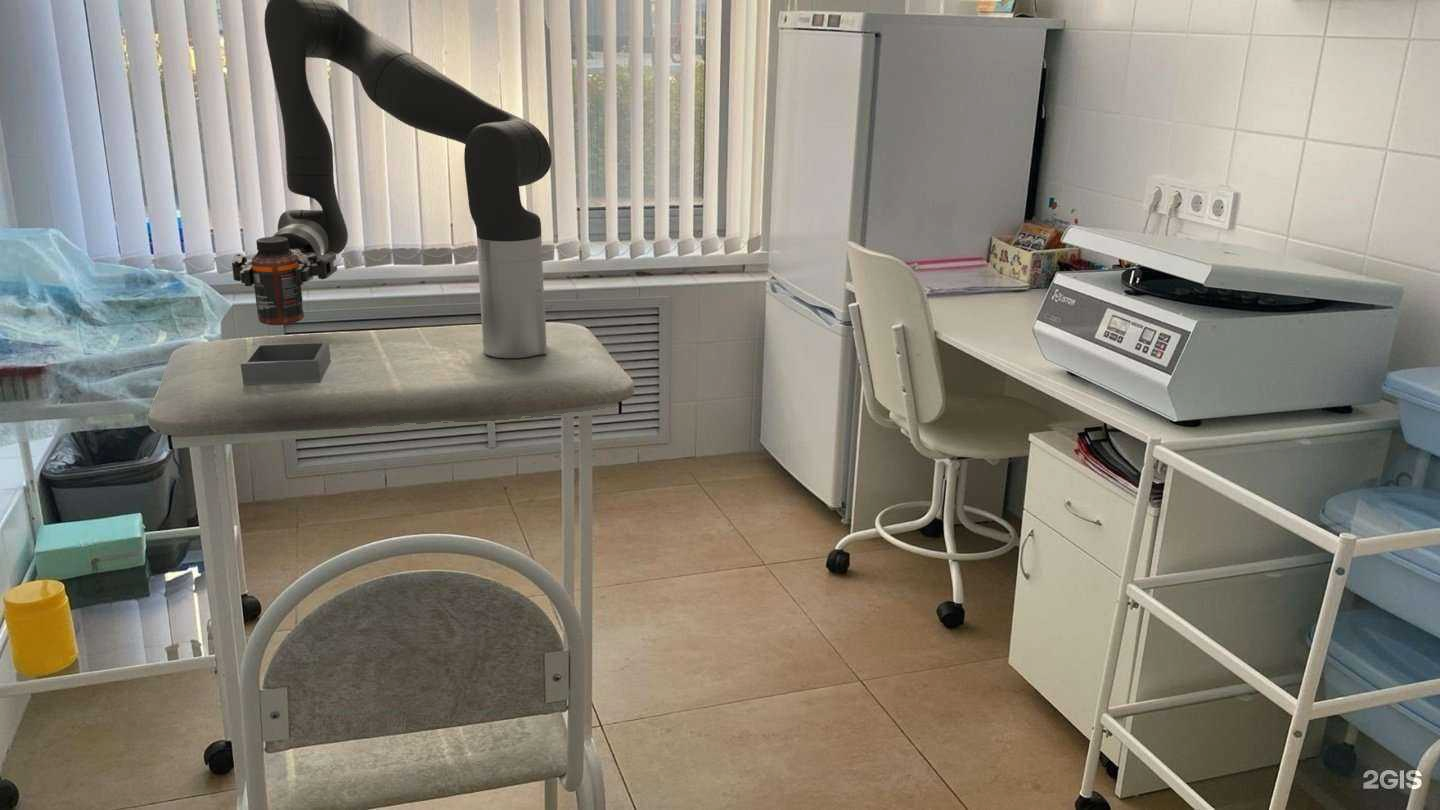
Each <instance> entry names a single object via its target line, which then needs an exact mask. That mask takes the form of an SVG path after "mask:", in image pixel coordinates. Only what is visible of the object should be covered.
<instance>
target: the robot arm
mask: <svg viewBox="0 0 1440 810" xmlns="http://www.w3.org/2000/svg"><path fill="white" fill-rule="evenodd" d="M264 34H265V40H266V45H267V51H268V56H269V59H270V66H271V69H272V70H271V71H272V76H273V80H274V85H275V89H276V93H277V98H278V103H279V107H280V112H281V119H282V126H283V134H284V146H285V148H284V149H285V165H286V166H285V169H286V184H287V188H288V190H289V191H290V192H291V193H293V194H296V195H299V196H303V197H306V198H307V197H308V198H311V199H313V200H315V201H316V202H317V203H318V204H319V205H320V207H321V210H320V209H318V210H317V209H316V210H315V209H314V210H313V209H288V210H286V211H284V212H283V213H281V215H280V216H279V218H278V222H277V231H276V233H274V234H273V236H271V237H286V238H287V239H288V244H289V248H288V249H289V250H290V252H291V253H293V254H294V255H296V257H297V259H298V266H297V268H296V269H295V275H296V284H297V285H301V286H303V285H305V283H306V282H309V281H312V280H314V277H317V278H318V279H320V280H326V279H328V278H329V277H330V276H331V275H333V274H335V273H336V272H338V263H337V255H339V254H340V253H342V252H343V251H344V250H345V248H346V246H347V243H348V239H349V233H348V228H347V224H346V221H345V219H344V215H343V213H342V210H341V207H340V203H339V201H338V197H337V192H336V186H335V179H334V178H335V177H334V176H335V175H334V171H335V170H334V152H333V151H334V150H333V143H332V138H331V133H330V130H329V129H328V126H327V123H326V121H325V119H324V117H323V116H322V114H321V112H320V110H319V108H318V106H317V104H316V102H315V100H314V98H313V95H312V92H311V89H310V87H309V83H308V77H307V66H306V65H307V62H306V61H307V58H308V59H309V58H311V59H313V58H314V59H323V60H328V61H331V62H333V63H336V65H337V64H338V65H339V66H341V67H342V68H344V69H346V70H348V71H350V73H351V72H352V73H353V74H354V75H355V76H356V77H358V78H359V81H360V84H361V87H362V89H363V90H364V92H365V94H366V95H367V97H368V98H369V100H371V102H373V103H374V104H375V105H376V106H377V107H378V108H380V109H381V110H383V111H384V112H386V113H387V114H389V115H390V116H392V117H394V118H395V120H398V121H400V122H402V123H403V124H405V125H407V126H409V127H411V128H414V129H416V130H419V131H421V132H425V133H429V134H432V135H435V136H439V137H442V138H446V139H450V140H453V141H455V142H459V143H461V144H464V145H465V146H464V153H463V155H464V157H463V158H464V159H463V161H464V175H465V181H466V189H467V190H466V191H467V198H468V207H469V213H470V216H471V219H472V221H473V223H474V225H475V229H476V230H475V233H476V247H477V264H478V265H477V266H478V281H479V299H480V315H481V329H482V330H481V332H482V333H481V335H482V337H481V339H482V347H483V354H485V355H487V356H489V357H492V358H498V359H499V358H500V359H522V358H528V357H534V356H538V355H547V353H548V352H547V329H546V303H545V301H546V298H545V288H544V286H545V285H544V272H543V270H544V269H543V268H544V267H543V264H544V263H543V248H542V245H543V243H542V240H543V239H542V221H541V218H540V216H539V215H538V214H536V213H535V212H532V211H529V210H527V209H525V207H524V206H523V204H522V200H521V194H520V187H524V186H528V185H531V184H534V183H536V182H538V181H540V180H541V179H543V178H544V177H545V176H546V175H547V173H549V171H550V168H551V165H552V161H553V160H552V150H551V148H550V145H549V142H548V140H547V138H546V137H545V134H543V132H541V130H540V129H539V128H538V127H537V126H535V125H534V124H532V123H531V122H529V121H527V120H525V119H523V118H521V117H519V116H516V115H514V114H512V113H510V112H509V111H506V110H505V109H504V110H503V109H502V108H499V107H497V106H495V105H493V104H491V103H489V102H488V101H485V100H484V99H482V98H480V97H479V96H478V95H476V94H474V93H472V92H471V91H470V90H468V89H466V88H465V87H464V86H463V85H460V84H459V83H458V82H456V81H454V80H453V79H451V78H449V77H448V76H446V75H445V74H443V73H442V72H440V71H438V70H437V69H436V68H435V67H433V66H431V65H430V64H428V63H426V62H425V61H423V60H422V59H420V58H418V57H417V56H416V55H413V54H412V53H410V52H408V51H406V50H404V49H402V48H401V47H400V46H398V45H397V44H395V43H393V42H391V41H390V40H388V39H386V38H384V37H383V36H382V35H379V34H378V33H376V32H374V31H372V30H371V29H369V27H367V26H366V25H365V24H363V23H362V22H361V21H360V20H358V19H357V18H356V17H355V16H354V15H352V14H351V13H350V12H349V11H347V10H346V9H345V8H344V7H342V6H341V5H340V4H339V3H338V2H336V1H334V0H269V1H268V2H267V5H266V7H265V11H264ZM251 261H252V258H251V259H247V256H245V255H244V254H241V253H236V254H233V258H232V262H231V268H232V269H231V270H232V274H233V275H232V277H233V281H235V282H240V283H241V284H244V286H245V287H252V286H254V281H253V273H252V264H251Z"/></svg>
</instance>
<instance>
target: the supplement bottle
mask: <svg viewBox="0 0 1440 810" xmlns="http://www.w3.org/2000/svg"><path fill="white" fill-rule="evenodd" d="M288 248H289V244H288V239H287V238H286V237H272V236H265V237H261V238H258V239H256V249H257V252H256V254H255V255H254V256H253V257H252V258H251V259H252V261H251V264H252V273H253V281H254V284H253V286H254V295H255V296H254V297H255V303H256V311H257V317H258V318H257V319H258V322H260V323H261V324H263V325H267V326H286V325H291V324H295V323H298V322H300V321H302V320H303V319H304V317H305V313H304V311H305V309H304V302H303V292H302V285H297V284H296V275H295V269H296V268H297V266H298V259H297V257H296V255H294V254H293V253H291V252H290V250H289V249H288Z"/></svg>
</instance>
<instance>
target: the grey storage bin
mask: <svg viewBox="0 0 1440 810" xmlns="http://www.w3.org/2000/svg"><path fill="white" fill-rule="evenodd" d="M330 348H331V347H330V341H316V342H315V341H313V342H288V343H287V342H286V343H257V344H255V345H254V346H253V347H252V348H251V350H250V351H249V352H248V354H246V356H245V358H244V359H243V360H242V361H241V363H240V369H241V378H242V379H241V380H242V385H243V386H255V385H256V386H258V385H259V386H260V385H264V386H265V385H283V384H286V385H287V384H302V383H303V384H304V383H305V384H306V383H308V384H309V383H310V384H311V383H321V382H322V380H323V378H324V376H325V374H326V372H327V371H328V369H329V367H330V364H331V363H332V359H331V352H330V350H331V349H330Z"/></svg>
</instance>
